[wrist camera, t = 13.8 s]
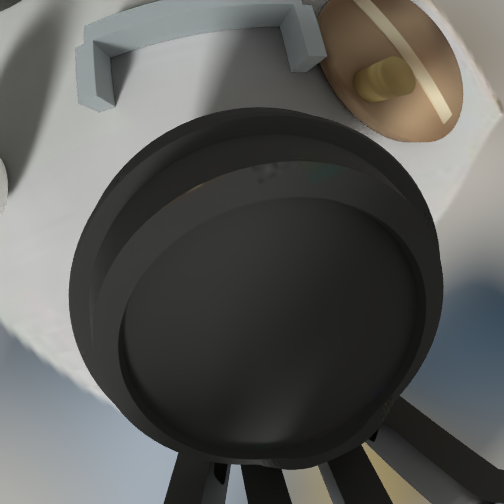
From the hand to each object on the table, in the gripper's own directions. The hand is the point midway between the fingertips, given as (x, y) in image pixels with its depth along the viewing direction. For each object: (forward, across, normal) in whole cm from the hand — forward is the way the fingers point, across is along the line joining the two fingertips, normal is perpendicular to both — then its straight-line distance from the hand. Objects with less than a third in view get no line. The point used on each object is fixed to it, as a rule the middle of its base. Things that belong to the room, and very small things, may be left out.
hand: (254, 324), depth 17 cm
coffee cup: (+4, 0, +6) cm, 7 cm away
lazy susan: (+4, +15, +16) cm, 23 cm away
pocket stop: (+4, 0, +18) cm, 18 cm away
